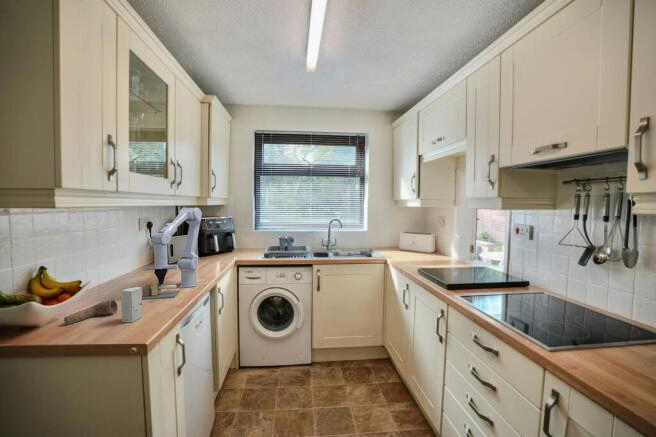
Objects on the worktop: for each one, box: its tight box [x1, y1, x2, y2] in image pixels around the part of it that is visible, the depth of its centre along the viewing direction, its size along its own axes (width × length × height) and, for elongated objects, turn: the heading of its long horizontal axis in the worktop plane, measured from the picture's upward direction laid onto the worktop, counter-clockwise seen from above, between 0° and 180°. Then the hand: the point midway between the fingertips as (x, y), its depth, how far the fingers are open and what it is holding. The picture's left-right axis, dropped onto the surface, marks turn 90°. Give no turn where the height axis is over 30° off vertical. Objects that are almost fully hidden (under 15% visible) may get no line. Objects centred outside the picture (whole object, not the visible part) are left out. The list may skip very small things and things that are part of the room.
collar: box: [151, 279, 162, 296], centre depth 143 cm, size 2×6×6 cm, turn 15°
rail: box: [142, 284, 180, 301], centre depth 143 cm, size 15×10×5 cm, turn 105°
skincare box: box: [120, 286, 143, 323], centre depth 113 cm, size 6×4×12 cm
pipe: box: [63, 298, 119, 326], centre depth 114 cm, size 6×17×10 cm
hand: (161, 284), depth 143 cm, fingers closed
